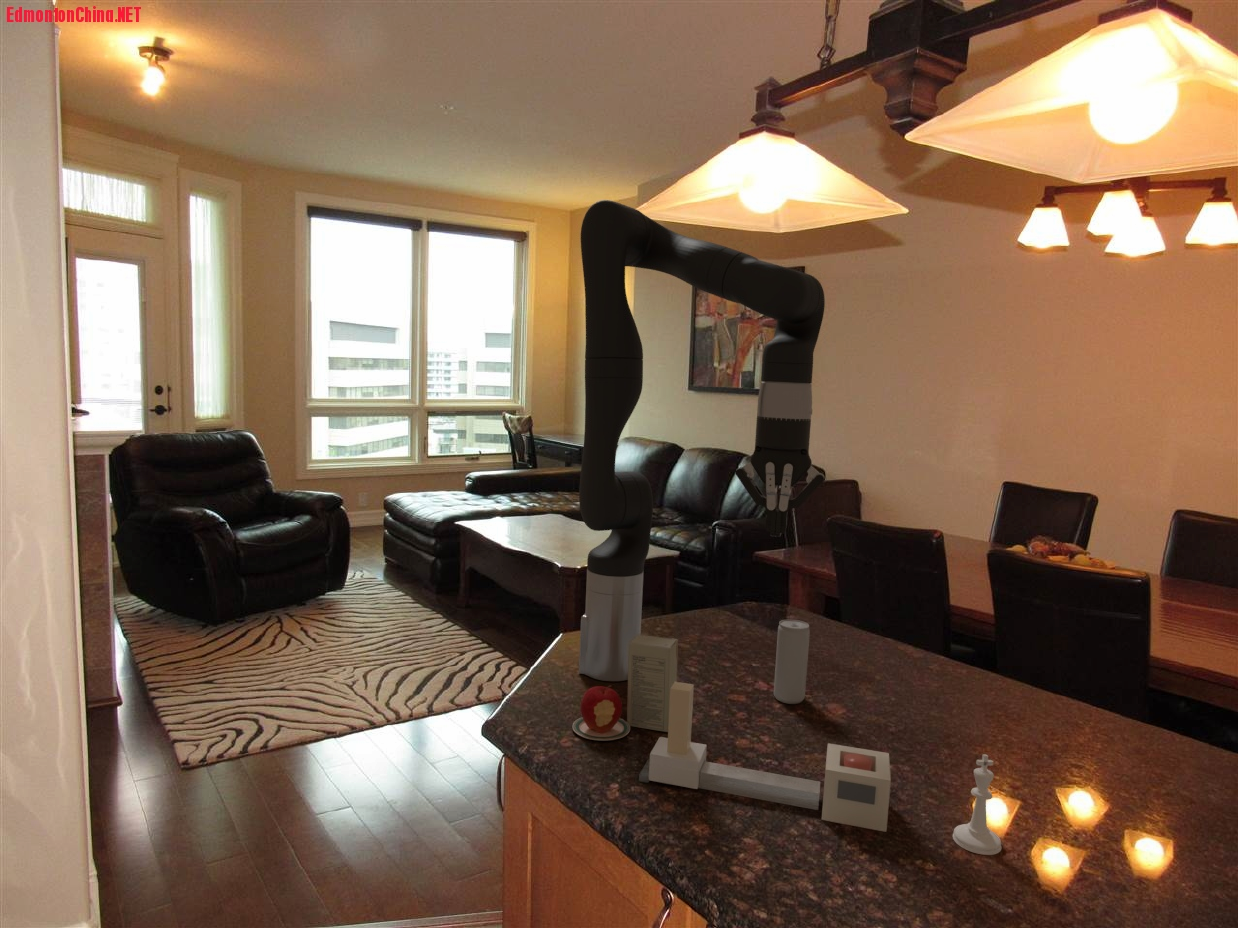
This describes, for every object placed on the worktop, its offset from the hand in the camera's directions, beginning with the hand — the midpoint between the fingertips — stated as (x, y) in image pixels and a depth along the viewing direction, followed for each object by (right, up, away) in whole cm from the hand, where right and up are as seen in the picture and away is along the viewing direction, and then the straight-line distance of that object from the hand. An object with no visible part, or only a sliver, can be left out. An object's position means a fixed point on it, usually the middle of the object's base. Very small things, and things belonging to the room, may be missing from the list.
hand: (775, 535), depth 118 cm
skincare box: (-18, -27, -1) cm, 32 cm away
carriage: (-15, -28, -17) cm, 36 cm away
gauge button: (+5, -29, -23) cm, 37 cm away
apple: (-25, -27, -4) cm, 37 cm away
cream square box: (+5, -30, -22) cm, 38 cm away
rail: (-9, -29, -19) cm, 35 cm away
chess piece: (+17, -31, -28) cm, 45 cm away
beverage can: (+4, -26, +10) cm, 29 cm away
